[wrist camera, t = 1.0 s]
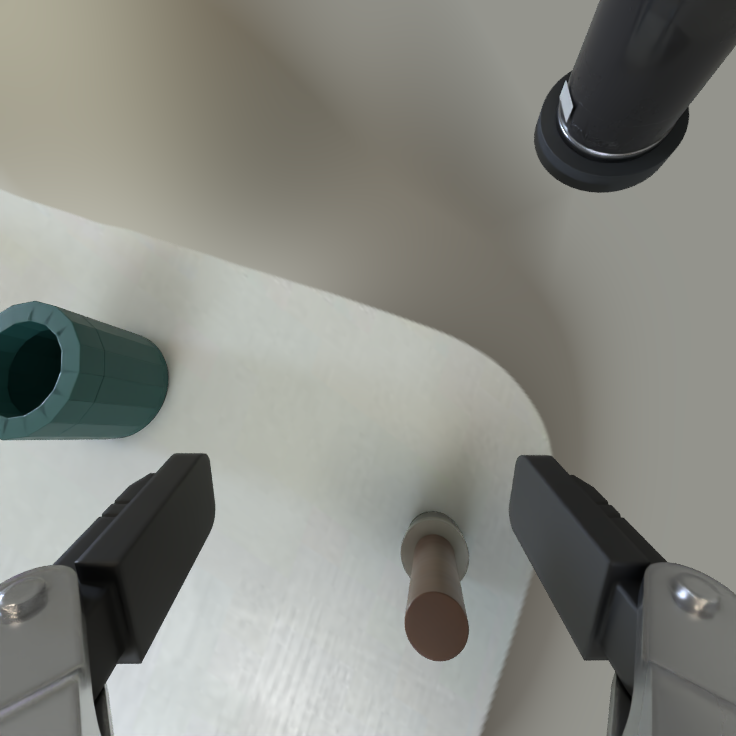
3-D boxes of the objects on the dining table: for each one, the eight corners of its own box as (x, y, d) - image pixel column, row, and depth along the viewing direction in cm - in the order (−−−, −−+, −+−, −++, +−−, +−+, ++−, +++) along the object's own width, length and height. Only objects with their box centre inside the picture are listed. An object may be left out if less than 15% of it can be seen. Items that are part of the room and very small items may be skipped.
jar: (121, 314, 37) (25, 277, 28) (188, 374, 34) (106, 353, 26) (56, 394, 36) (-62, 381, 28) (119, 460, 34) (11, 469, 25)
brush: (428, 496, 29) (425, 545, 16) (475, 535, 28) (514, 622, 15) (393, 542, 29) (362, 629, 16) (440, 583, 28) (448, 713, 15)
